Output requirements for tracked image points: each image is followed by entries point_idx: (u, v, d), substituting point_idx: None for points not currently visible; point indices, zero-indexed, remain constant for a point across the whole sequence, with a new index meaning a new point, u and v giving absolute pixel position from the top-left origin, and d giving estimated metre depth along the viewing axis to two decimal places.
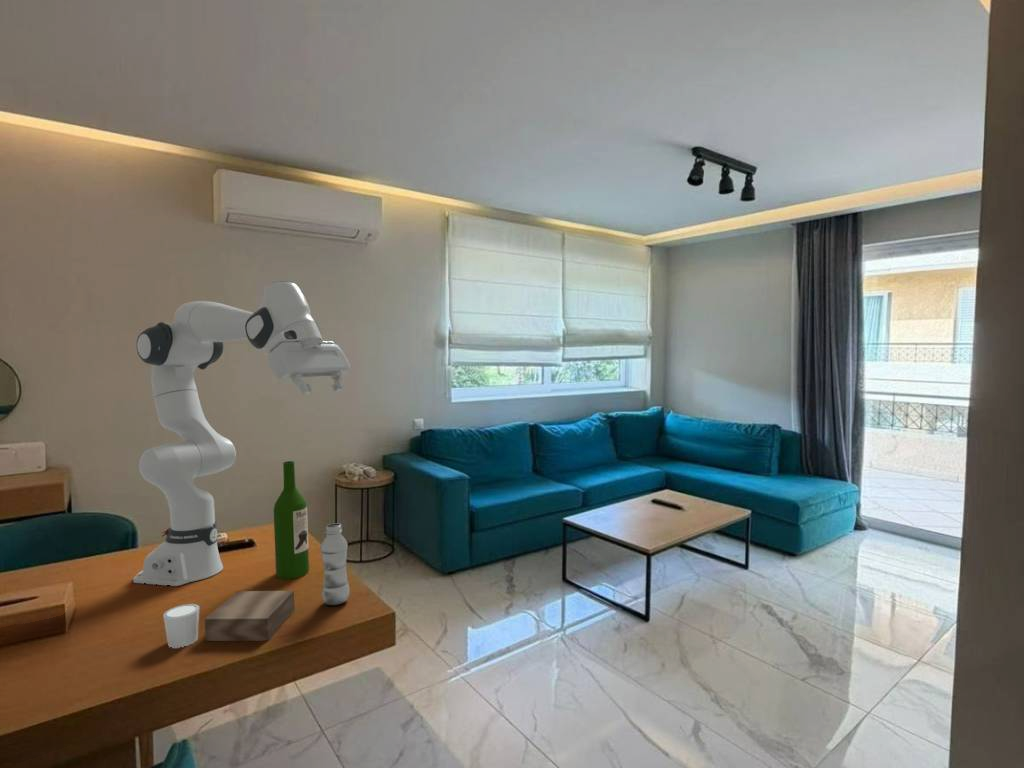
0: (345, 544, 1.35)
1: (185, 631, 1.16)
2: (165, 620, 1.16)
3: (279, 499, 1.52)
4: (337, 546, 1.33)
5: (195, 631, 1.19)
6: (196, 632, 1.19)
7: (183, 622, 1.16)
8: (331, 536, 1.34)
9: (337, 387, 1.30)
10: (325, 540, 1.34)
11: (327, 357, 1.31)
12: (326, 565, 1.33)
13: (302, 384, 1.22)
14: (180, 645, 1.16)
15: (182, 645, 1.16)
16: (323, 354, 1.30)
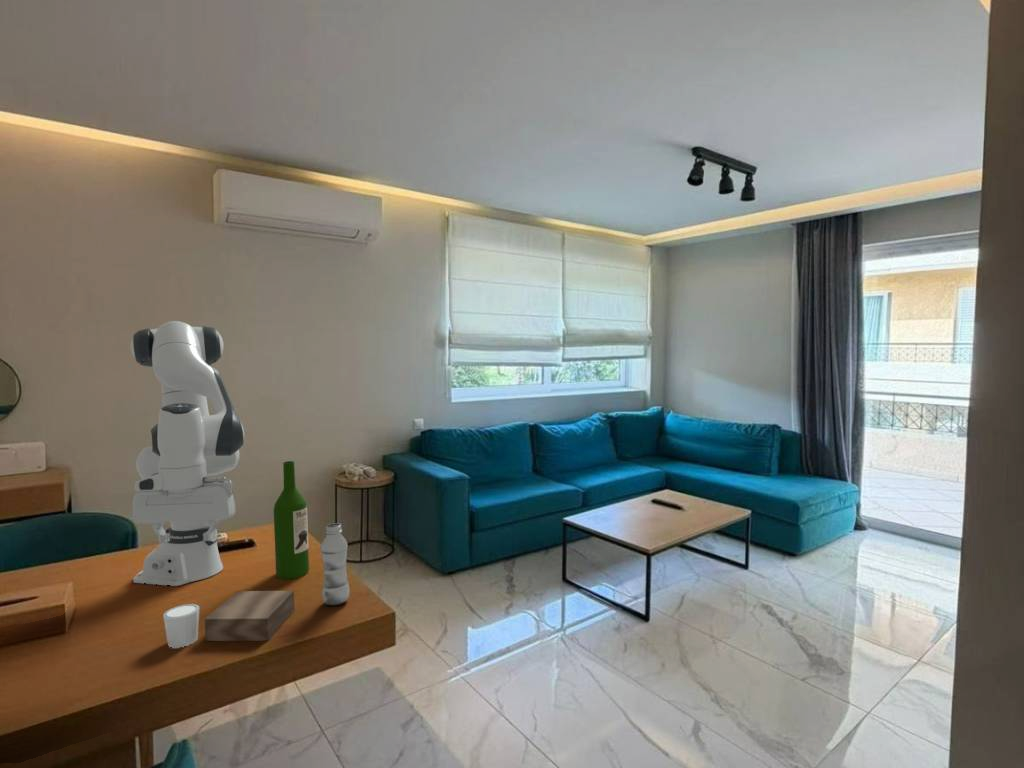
0: (345, 544, 1.35)
1: (185, 631, 1.16)
2: (164, 620, 1.16)
3: (279, 499, 1.52)
4: (337, 546, 1.33)
5: (195, 631, 1.19)
6: (196, 632, 1.19)
7: (183, 622, 1.16)
8: (331, 536, 1.34)
9: None
10: (325, 540, 1.34)
11: (197, 505, 1.16)
12: (326, 565, 1.33)
13: None
14: (180, 645, 1.16)
15: (182, 645, 1.16)
16: (194, 500, 1.16)
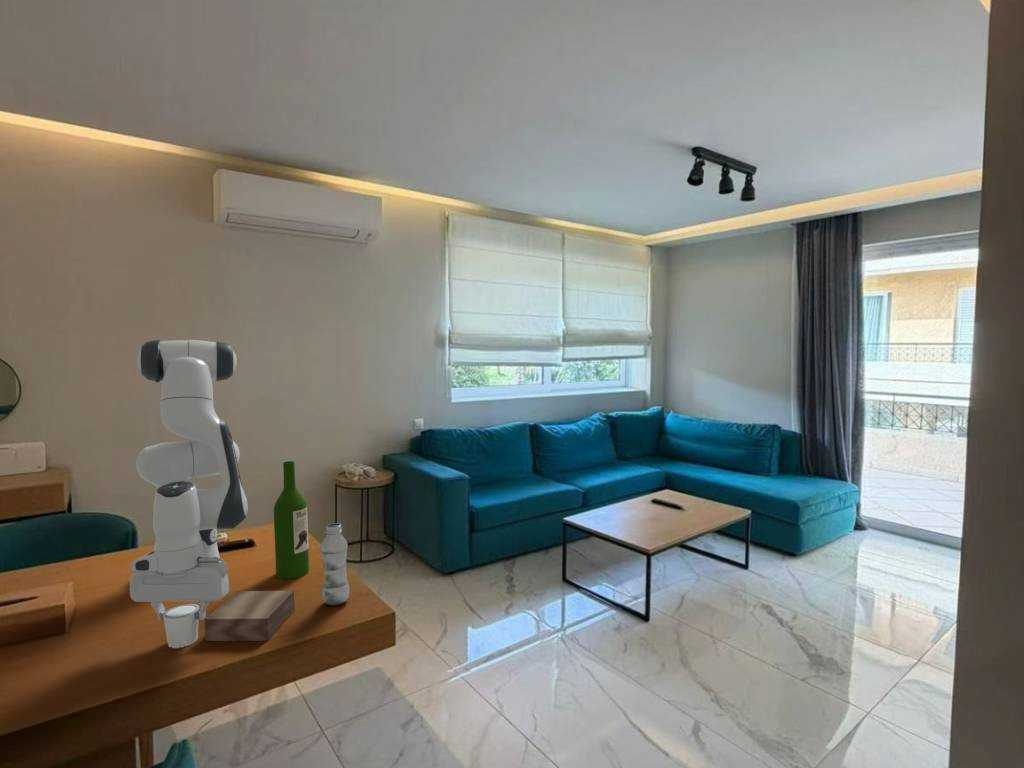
0: (345, 544, 1.35)
1: (185, 631, 1.16)
2: (164, 620, 1.16)
3: (279, 499, 1.52)
4: (337, 546, 1.33)
5: (195, 631, 1.19)
6: (196, 632, 1.19)
7: (183, 622, 1.16)
8: (331, 536, 1.34)
9: None
10: (325, 540, 1.34)
11: (191, 585, 1.16)
12: (326, 565, 1.33)
13: None
14: (180, 645, 1.16)
15: (182, 645, 1.16)
16: (189, 581, 1.17)
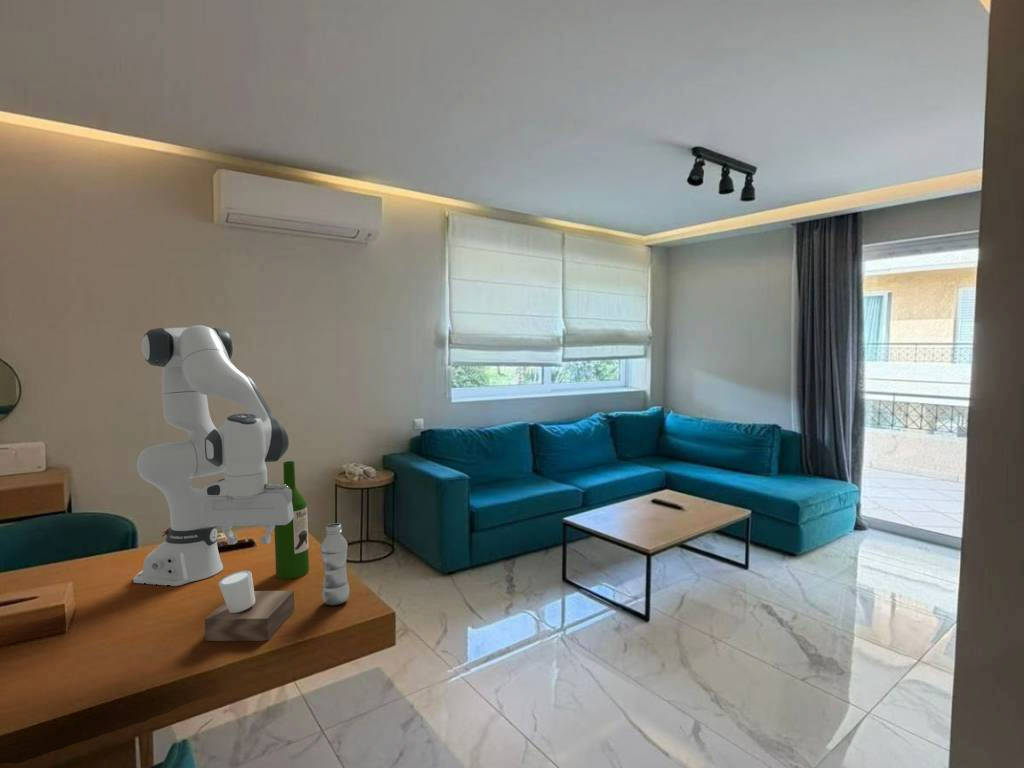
0: (345, 544, 1.35)
1: (244, 594, 1.21)
2: (222, 589, 1.20)
3: None
4: (337, 546, 1.33)
5: (253, 593, 1.24)
6: (253, 594, 1.24)
7: (241, 586, 1.21)
8: (331, 536, 1.34)
9: None
10: (325, 540, 1.34)
11: (259, 510, 1.22)
12: (326, 565, 1.33)
13: None
14: (242, 608, 1.21)
15: (244, 608, 1.21)
16: (257, 506, 1.23)
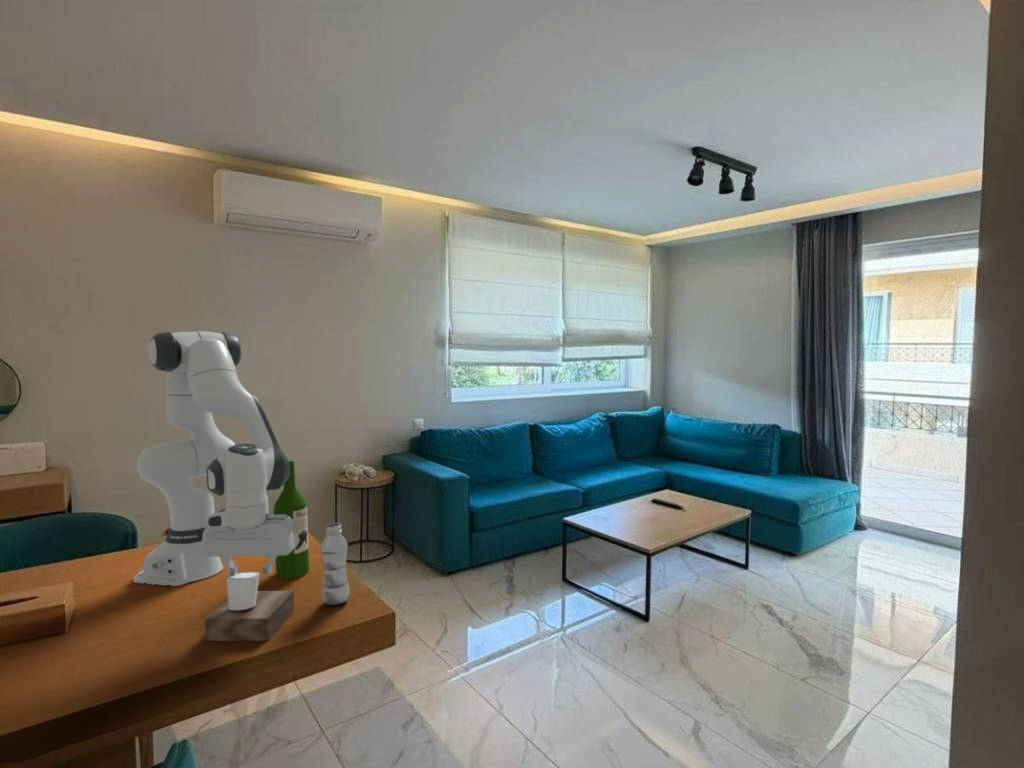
0: (345, 544, 1.35)
1: (250, 593, 1.22)
2: (230, 583, 1.21)
3: (279, 499, 1.52)
4: (337, 546, 1.33)
5: (256, 594, 1.24)
6: (256, 596, 1.25)
7: (250, 583, 1.22)
8: (331, 536, 1.34)
9: None
10: (325, 540, 1.34)
11: (260, 541, 1.23)
12: (326, 565, 1.33)
13: None
14: (245, 607, 1.21)
15: (246, 607, 1.22)
16: (258, 536, 1.23)
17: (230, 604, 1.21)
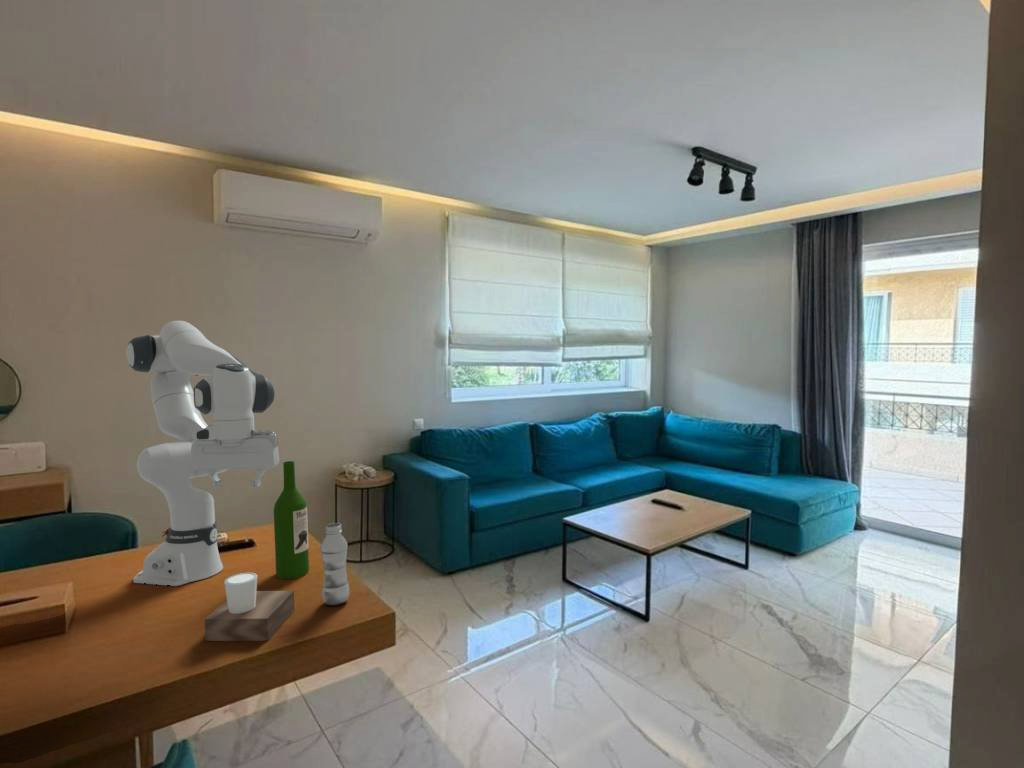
0: (345, 544, 1.35)
1: (249, 596, 1.22)
2: (228, 588, 1.20)
3: (279, 499, 1.52)
4: (337, 546, 1.33)
5: (255, 596, 1.24)
6: None
7: (248, 587, 1.21)
8: (331, 536, 1.34)
9: None
10: (325, 540, 1.34)
11: (246, 454, 1.29)
12: (326, 565, 1.33)
13: None
14: (244, 610, 1.21)
15: (246, 609, 1.22)
16: (244, 450, 1.29)
17: (230, 607, 1.21)
